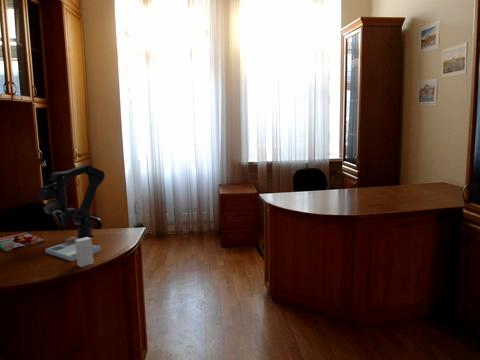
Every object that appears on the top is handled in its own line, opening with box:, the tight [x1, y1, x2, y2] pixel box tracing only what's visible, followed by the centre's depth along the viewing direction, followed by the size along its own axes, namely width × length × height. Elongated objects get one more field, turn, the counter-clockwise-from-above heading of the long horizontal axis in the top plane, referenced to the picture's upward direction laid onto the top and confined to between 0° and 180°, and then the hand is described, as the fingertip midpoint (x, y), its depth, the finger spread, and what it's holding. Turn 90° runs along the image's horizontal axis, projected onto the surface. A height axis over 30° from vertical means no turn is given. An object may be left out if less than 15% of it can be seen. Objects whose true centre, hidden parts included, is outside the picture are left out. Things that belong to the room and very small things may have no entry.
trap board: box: [44, 242, 102, 262], centre depth 198 cm, size 16×22×3 cm
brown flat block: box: [64, 236, 79, 245], centre depth 206 cm, size 4×4×2 cm
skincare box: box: [75, 237, 94, 268], centre depth 180 cm, size 6×4×12 cm
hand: (62, 226), depth 208 cm, fingers open, 3 cm apart
